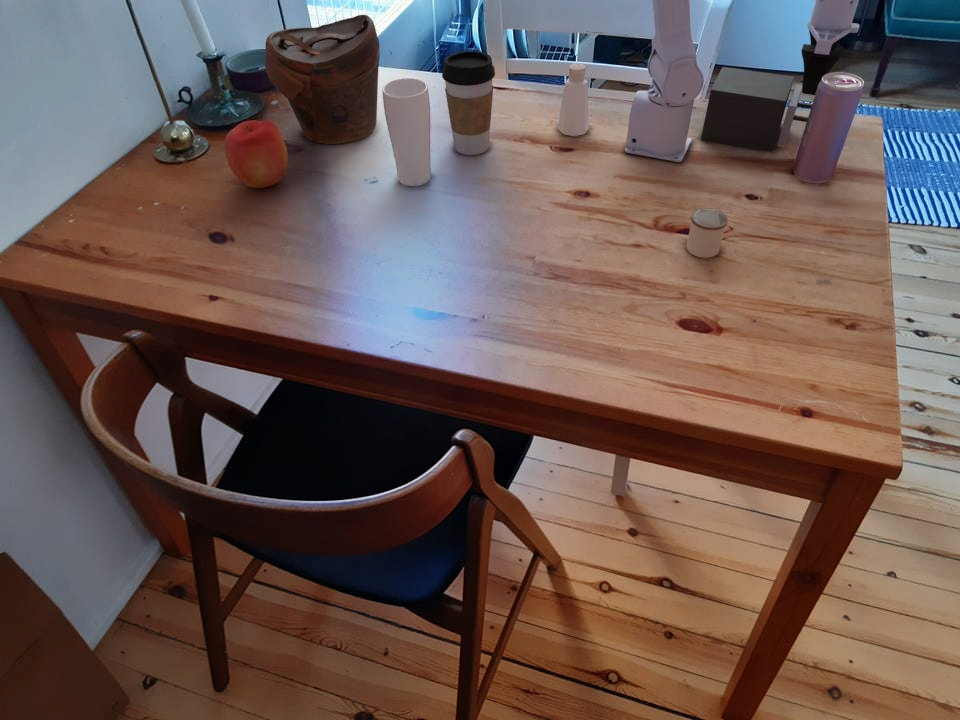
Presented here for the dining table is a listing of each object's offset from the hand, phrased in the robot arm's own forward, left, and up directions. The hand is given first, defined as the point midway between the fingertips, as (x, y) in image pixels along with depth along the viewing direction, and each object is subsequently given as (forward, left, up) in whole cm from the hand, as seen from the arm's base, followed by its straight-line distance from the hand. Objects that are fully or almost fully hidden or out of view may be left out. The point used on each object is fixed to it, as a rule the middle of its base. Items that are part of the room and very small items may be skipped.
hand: (812, 83), depth 112 cm
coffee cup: (-50, -22, -10) cm, 55 cm away
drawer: (-4, -1, -9) cm, 9 cm away
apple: (-76, -45, -10) cm, 89 cm away
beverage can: (+4, -11, -10) cm, 15 cm away
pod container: (-8, -37, -9) cm, 38 cm away
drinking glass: (-54, -35, -10) cm, 65 cm away
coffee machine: (-9, -1, -9) cm, 13 cm away
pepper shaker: (-36, -10, -10) cm, 38 cm away
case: (-75, -25, -10) cm, 79 cm away
